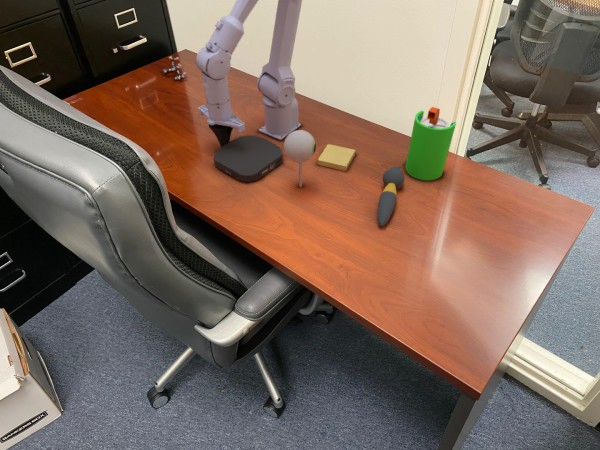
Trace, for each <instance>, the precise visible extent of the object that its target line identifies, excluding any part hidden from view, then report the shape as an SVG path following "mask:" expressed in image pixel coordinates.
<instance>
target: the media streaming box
mask: <svg viewBox="0 0 600 450" xmlns="http://www.w3.org/2000/svg"><path fill="white" fill-rule="evenodd" d="M283 160H284V159H283V150H282V148H281V147H280V146H279V145H277V144H275V143H274V142H272V141H270V140H268V139H266V138H263V137H261V136H258V135H251V134H250V135H242V136H238V137H236V138H233V139H232V140H230V142H228V143H227V144H225V145H224V146H222V147H221V146H220V147H219V148H218V149H217V150H216V151H215V152H214V154H213V162H214V165H215V167H216V168H217V169H219V170H220V171H222V172H224V173H225V174H226V175H229V176H231V177H233V178H235V179H236V180H239V181H240V182H245V183H248V182H249V183H250V182H255V181H258V180H259V179H261V178H262V177H265V175H267V174H269V172H271V171H272V170H274V169H275V168H277V167H278V166H279V165H281V163H282V162H283Z"/></svg>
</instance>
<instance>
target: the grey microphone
mask: <svg viewBox="0 0 600 450" xmlns="http://www.w3.org/2000/svg"><path fill="white" fill-rule="evenodd" d="M401 169H402V166H392V167H389V168H388V169H387V170H385V172H384V173H383V175H382V184H383V186H384V189H383V191H382V192H381V194H380V196H379V200H378V205H377V222H378V225H379V226H380V227H384V226H385V225H386V224H387V223H388V222H389V220H390V218H391V216H392V214H393V212H394V209H395V206H396V203H397V196H398V195H397V190H398V189H400V188H401V187H402V186H403V184H404V182H405V174H404V173H403V171H402V170H401Z"/></svg>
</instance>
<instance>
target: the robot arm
mask: <svg viewBox="0 0 600 450" xmlns="http://www.w3.org/2000/svg"><path fill="white" fill-rule="evenodd" d="M258 2H259V0H235V2H234V4H233V6H232V9H231V10H230V13H229V14H227V15H224V16H222V17H221V18H220V20H217V21H216V22H215V25H214V26H215V29H214V30H213V33H212V35H211V36H210V38H209V40H208V42H206V44H205V45H204V47H202V48H200V50H199V51H198V52H197V54H196V58H195V59H196V60H194V64H195V66H196V68H197V69H198V70H199V71H200V72H201V79H202V84H203V91H204V95H205V102H206V105H204V104H202V105H201V106H199V107H197V111H198V115H199V116H202V117H203V116H204V117H205V118H206V119H207V120H206V123H207V124H208V128H209V129H210V130H211V131H212V132H213V134H214V135H215V137H216V139H217V141H218V143H219V146H220V148H221V147H222V146H224V145H225V144H227V143H228V142H230V141H231V136H232V132H233V130H236V132H237V133H238V134H241V133H242V132H244V131H246V123H245V122H244V121H242V120H241V119H240V118H239V117H238V116H237V115H235V114H234V113H233V110H232V104H231V103H232V102H231V95H230V89H229V81H228V73H230V71H231V65H232V64H231V60H232V56H233V54H234V52H235V50H236V48H237V47H238V45H239V43H240V42H241V39H242V38H243V36H244V34H245V28H244V23H245V22H246V20H247V19H248V17H249V16H250V14H251V13H252V11H253V10H254V8H255V7H256V5H257V4H258ZM302 5H303V0H278V2H277V7H276V12H275V13H276V14H275V20H274V26H273V32H272V38H271V46H270V53H269V58H268V62H267V63H266V64H264V65H262V67H261V68H262V69H261V73H260V75H259V77H258V78H257V82H256V87H257V90H258V92H260V93H261V94H262V96H261V97H262V101H263V115H264V125H263V126H262V127H260V128H259V129H258V132H260V133H262V134H265V135H267V136H269V137H272V138H274V139H276V140H279V141H282V140H283V139H284V138H287V136H288V135H289V134H290V133H292V132H294V131H296V130H297V129H298V128H300V127H301V126H302V124H301V123H300V122H299V103H298V100H297V98H296V87H295V83H296V77H295V74H294V73H293V70H292V68H291V63H292V59H293V53H294V49H295V42H296V35H297V32H298V27H299V26H298V25H299V20H300V14H301V9H302Z"/></svg>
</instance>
